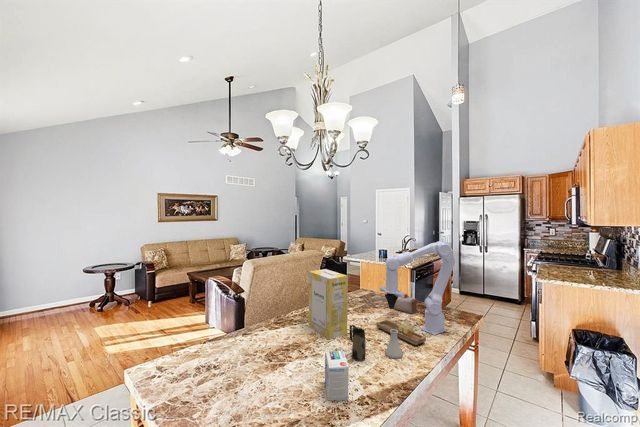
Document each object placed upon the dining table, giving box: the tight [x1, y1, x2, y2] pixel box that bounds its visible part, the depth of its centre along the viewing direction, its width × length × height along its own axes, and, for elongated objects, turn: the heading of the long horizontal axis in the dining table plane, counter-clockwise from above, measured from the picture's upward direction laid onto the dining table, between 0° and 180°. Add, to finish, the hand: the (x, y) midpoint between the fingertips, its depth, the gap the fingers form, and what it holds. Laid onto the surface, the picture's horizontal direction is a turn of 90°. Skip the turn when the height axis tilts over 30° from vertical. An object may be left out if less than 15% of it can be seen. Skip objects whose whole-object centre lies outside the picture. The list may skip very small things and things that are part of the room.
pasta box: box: [308, 268, 349, 340], centre depth 145 cm, size 18×10×28 cm, turn 34°
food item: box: [393, 293, 418, 315], centre depth 172 cm, size 14×8×10 cm, turn 44°
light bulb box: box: [324, 350, 350, 401], centre depth 97 cm, size 11×7×11 cm, turn 5°
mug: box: [348, 324, 367, 362], centre depth 119 cm, size 8×6×12 cm
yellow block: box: [399, 323, 414, 337], centre depth 135 cm, size 4×5×4 cm
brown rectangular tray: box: [375, 319, 427, 346], centre depth 138 cm, size 8×24×3 cm, turn 33°
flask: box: [384, 329, 404, 360], centre depth 120 cm, size 7×7×10 cm
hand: (391, 308), depth 147 cm, fingers closed
